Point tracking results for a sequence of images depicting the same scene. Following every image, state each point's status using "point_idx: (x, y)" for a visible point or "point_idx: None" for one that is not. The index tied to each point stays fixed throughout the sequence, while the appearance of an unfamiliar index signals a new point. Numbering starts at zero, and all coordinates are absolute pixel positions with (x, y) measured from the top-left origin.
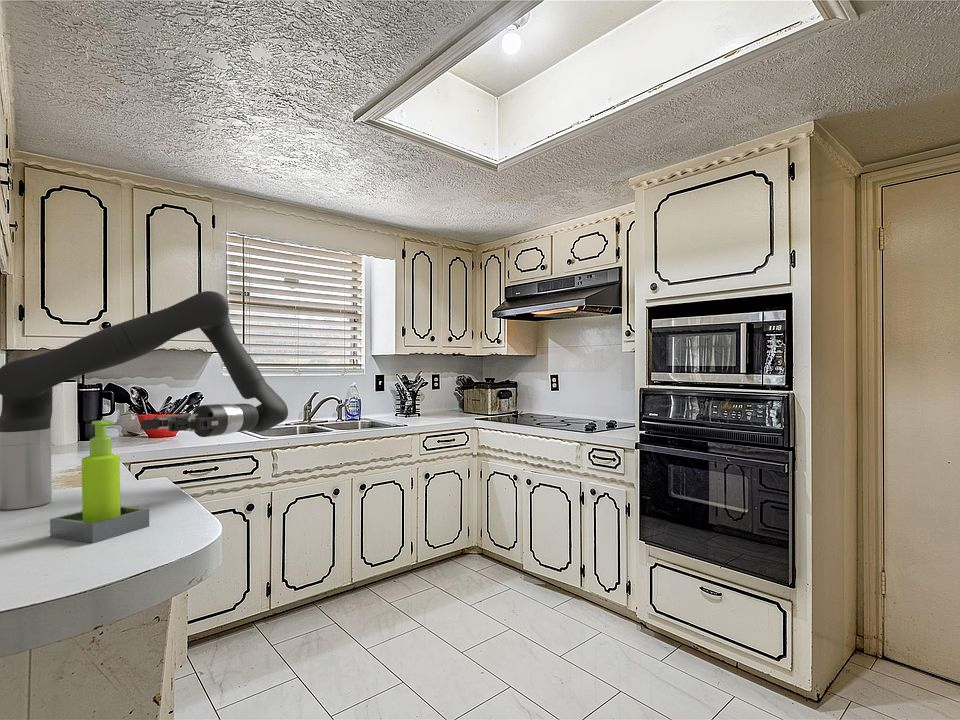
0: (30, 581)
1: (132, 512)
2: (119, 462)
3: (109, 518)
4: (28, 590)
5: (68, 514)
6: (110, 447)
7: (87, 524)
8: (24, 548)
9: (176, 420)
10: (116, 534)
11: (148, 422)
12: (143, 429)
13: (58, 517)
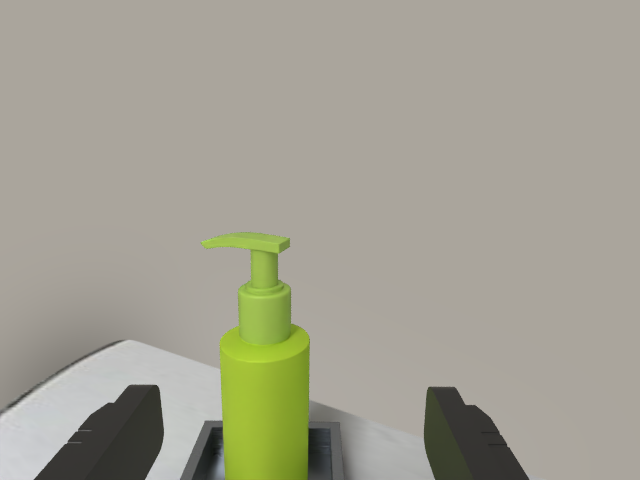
0: (166, 364)
1: None
2: (228, 374)
3: (201, 450)
4: (146, 355)
5: (340, 448)
6: (240, 319)
7: (220, 422)
8: (310, 414)
9: (125, 421)
10: None
11: (441, 430)
12: (425, 444)
13: (333, 431)
